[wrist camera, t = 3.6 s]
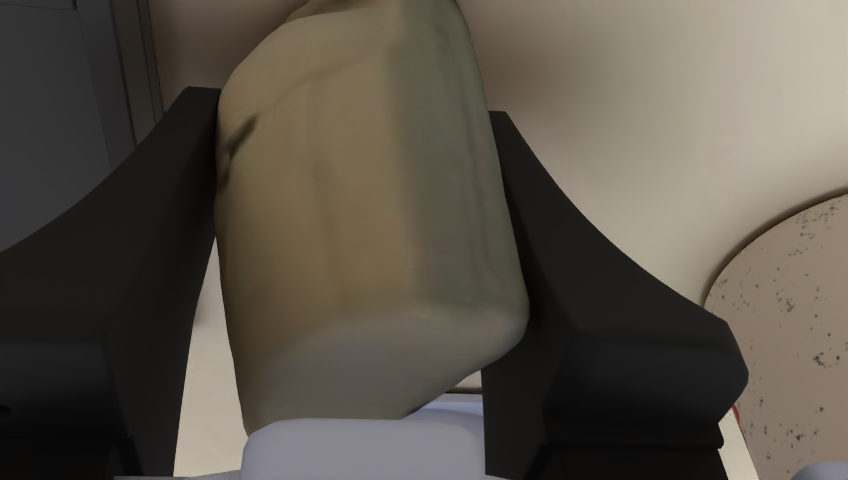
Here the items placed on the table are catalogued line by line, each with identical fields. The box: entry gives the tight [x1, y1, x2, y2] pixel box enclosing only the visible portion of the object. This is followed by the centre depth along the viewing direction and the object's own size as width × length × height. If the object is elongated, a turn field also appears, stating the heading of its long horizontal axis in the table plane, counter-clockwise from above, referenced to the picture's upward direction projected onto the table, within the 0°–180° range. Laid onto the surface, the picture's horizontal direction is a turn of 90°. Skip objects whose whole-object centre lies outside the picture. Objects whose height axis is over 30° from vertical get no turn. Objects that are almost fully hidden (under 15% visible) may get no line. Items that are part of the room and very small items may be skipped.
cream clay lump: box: [214, 0, 530, 437], centre depth 14 cm, size 6×5×8 cm
